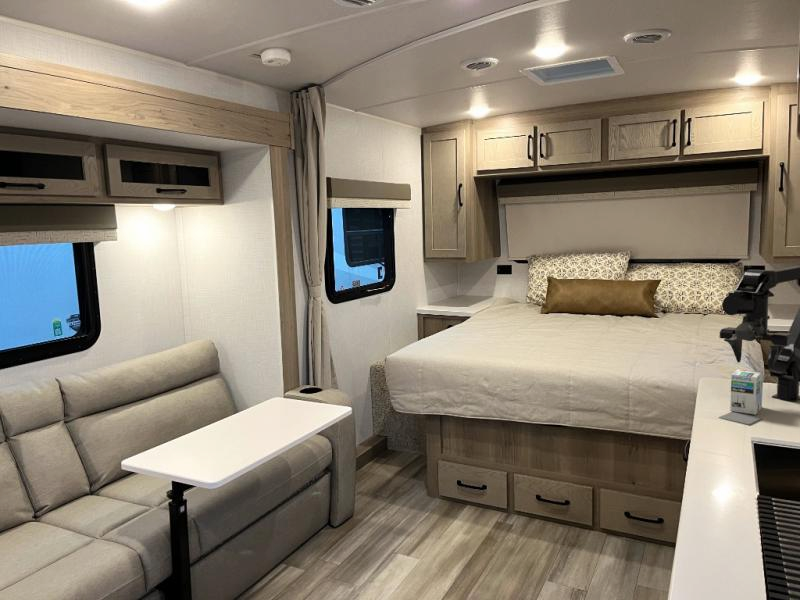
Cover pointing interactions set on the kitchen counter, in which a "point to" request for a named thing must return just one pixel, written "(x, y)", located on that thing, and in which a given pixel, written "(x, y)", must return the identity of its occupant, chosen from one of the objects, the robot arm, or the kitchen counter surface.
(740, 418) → the mat
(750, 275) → the robot arm
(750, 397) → the light bulb box
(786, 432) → the kitchen counter surface
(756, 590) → the kitchen counter surface
